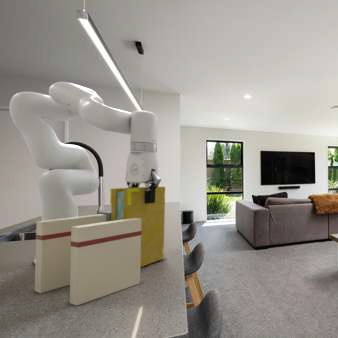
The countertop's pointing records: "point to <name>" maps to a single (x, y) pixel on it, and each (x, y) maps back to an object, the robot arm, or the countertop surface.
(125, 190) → the book
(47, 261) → the cream book
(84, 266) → the cream panel
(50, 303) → the countertop surface
